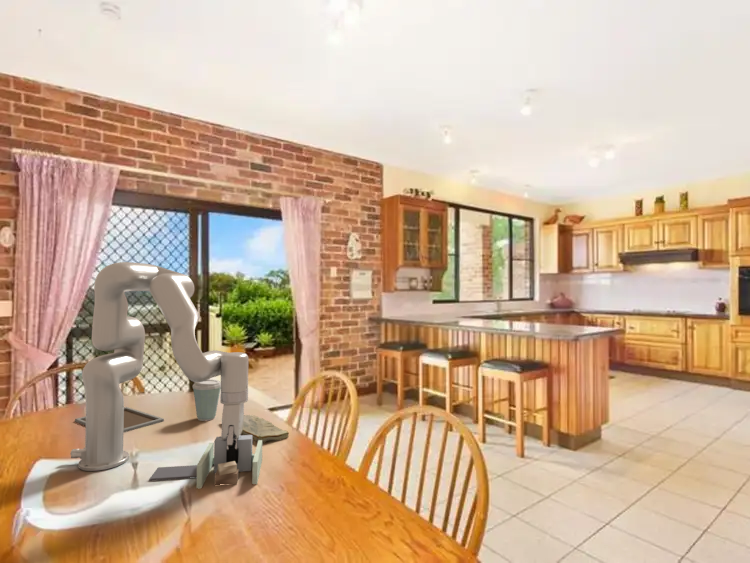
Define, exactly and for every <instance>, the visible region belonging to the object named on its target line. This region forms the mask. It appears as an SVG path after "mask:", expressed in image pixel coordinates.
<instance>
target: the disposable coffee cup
mask: <svg viewBox="0 0 750 563" xmlns="http://www.w3.org/2000/svg"><path fill="white" fill-rule="evenodd" d="M192 389H193V396H194V397H193V398H194V403H195V405H194V406H195V413H196V418H197V420H198V421H201V422H206V421H207V422H208V421H212V420H214V419H215V418H216V415H217V410H218V405H219V404H218V403H219V399H220V395H221V380H220V381H219V380H217V379H211V378H210V379H208V380H206V381H203V382H193V384H192Z"/></svg>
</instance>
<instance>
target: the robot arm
mask: <svg viewBox="0 0 750 563" xmlns="http://www.w3.org/2000/svg"><path fill="white" fill-rule="evenodd" d="M93 288H94V306H93V308H94V309H93V317H92V328H91V329H92V330H91V343H92V346H93V347H94V348H95V349H96V350H99V351H103V352H108V351H109V352H110V351H113V352H112V353H108V354H107V353H106V354H103V355H99V356H96V357H94V358H91V359H90V360H89V361H87V363H86V364H85V365H84V366H83V369H82V373H81V374H82V376H81V377H82V383H83V387H84V393H85V416H86V426H85V438H84V439H85V440H84V441H85V444H84V446H85V447H83V448H73V449H71V451H70V454H69V455H70V459H80V460H79V461H78V468H79V469H80V470H82V471H87V472H95V471H97V472H98V471H105V470H108V469H112V468H115V467H118V466H121V465H123V464H126V462H127V461H129V459H130V453H129V451H126V450H124V435H125V432H124V407H125V398H124V394H123V391H122V389H121V387H120V384H122V383H126V382H129V381H131V380H134V379H135V378H136V377H137V376H138V375H139V374H140V372H141V371H142V368H143V363H144V352H145V343H146V342H145V341H146V330H145V326H144V325H143V323H142V322H141V321H140V320H139V319H138V318H136V317H134V316H128V310H129V303H128V299H127V297H126V294H125V293H126V292H150V294H151V296H152V298H153V300H154V302H155V303H156V305H157V307H158V308H159V310H160V312H161V314H162V316H163V317H164V319H165V321H166V323H167V325H168V326H169V329H170V342H171V349H172V350H171V352H172V353H173V357H174V359H175V361H176V363H177V364H178V366H179V368H180V370H181V371H182V373H183V374H184V376H185V377H186V378H187V379H188V380H190V381H191V382H193V383H194V382H203V381H206V380H208V379H210V380H211V379H213V378H215V377H219V376H220V382H221V389H220V395H219V399H220V401H219V402H220V404H221V405H223V407H222V416H221V417H222V418H221V432H220V433H221V434H220V436H221V439H222V440H224V439H226V437H227V450H226V463H227V462H232V461H235V462H236V463H238V452H239V449H237V447H238V439H239V438H240V435H242V434H241V433H242V430H243V421H244V415H245V409H244V408H245V403H247V402H248V401H249V356H248V354H247V353H246V352H241V351H236V352H235V351H233V352H227V351H222V350H217V349H216V350H215V349H214V350H213V349H212V350H210V351H209V350H208V351H206V352H203V351H202V349H201V348H200V346H199V344H198V342H197V339H196V335H195V334H196V333H195V332H196V331H195V330H196V327H197V325H198V323H199V320H200V318H201V316H200V312H198V310H197V308H196V307H195V305H194V303H193V302H192V300H191V298H192V297H193V295H194V293H195V284H194V282H193V280H192V279H191V278H190V277H189V276H188V275H186V274H185V273H184V274H183V273H181V272H177V271H175V270H171V269H168V268H165V267H162V266H158V265H155V264H151V263H143V262H142V263H141V262H129V261H121V262H114V263H111V264H109V265H106V266H105V267H104V268H102V269H101V270H100V271H99V272H98V273H97V275H96V278H95V281H94V286H93ZM234 436H236V438H233V437H234ZM233 441H235V442H233Z"/></svg>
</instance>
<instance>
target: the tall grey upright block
mask: <svg viewBox="0 0 750 563" xmlns="http://www.w3.org/2000/svg"><path fill="white" fill-rule="evenodd" d="M233 438H236V436H234V437H233ZM252 438H253V435H243V434H241V435H240V438H239V439H238V447H237V449H239V452H238V463H236V464H237V469H239V472H251V471H252V469H253V462H252V454H253V439H252ZM233 442H235V441H233ZM213 443H214V465H213V474H216V472H217V470H218V464H222V463H226V450H227V437H226V439H224V440H222V439H221V435H220V436H216V438H215V439H214V442H213Z"/></svg>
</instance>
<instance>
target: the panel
mask: <svg viewBox="0 0 750 563" xmlns="http://www.w3.org/2000/svg"><path fill="white" fill-rule="evenodd" d="M190 477H197V464H195V465H177V466H162V467H161V466H160V467H159V466H158V467H157V468H156V470H155V471H154V473H152V474H151V476H150V478H149V481H148V482H152V480H156V481H168V479H171V480H184V478H186V479H191V478H190Z"/></svg>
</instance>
